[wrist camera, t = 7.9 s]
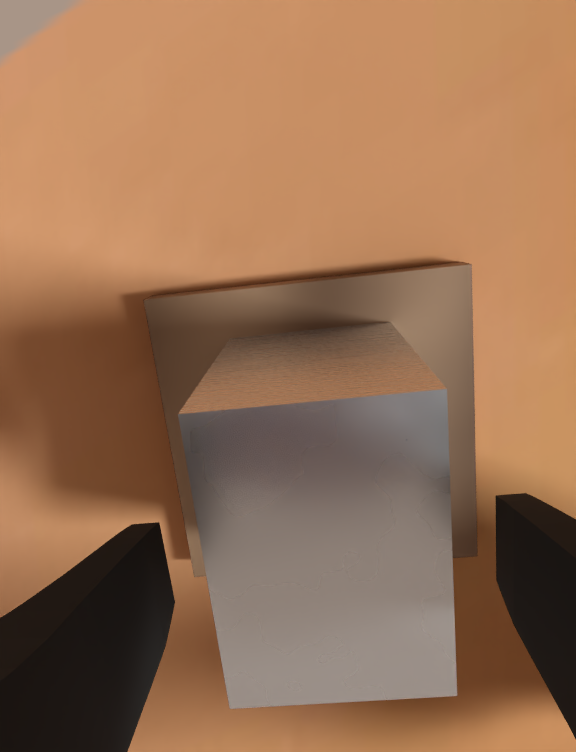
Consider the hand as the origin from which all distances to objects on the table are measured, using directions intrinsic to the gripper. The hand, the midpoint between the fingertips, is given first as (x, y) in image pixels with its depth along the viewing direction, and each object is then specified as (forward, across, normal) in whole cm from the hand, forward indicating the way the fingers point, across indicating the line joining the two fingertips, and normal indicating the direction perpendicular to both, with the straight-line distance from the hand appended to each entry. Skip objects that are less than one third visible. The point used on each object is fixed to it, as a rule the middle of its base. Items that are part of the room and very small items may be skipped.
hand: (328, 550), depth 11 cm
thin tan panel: (+7, 0, 0) cm, 7 cm away
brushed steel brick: (+6, 0, 0) cm, 6 cm away
